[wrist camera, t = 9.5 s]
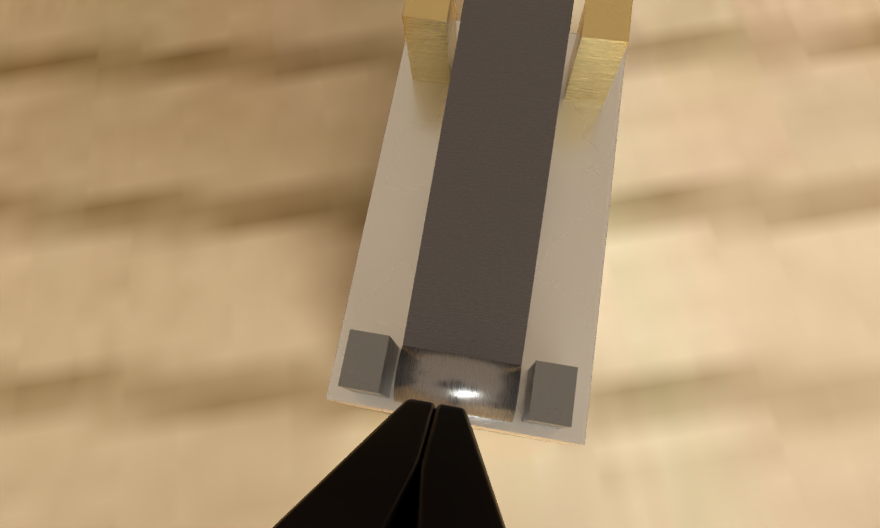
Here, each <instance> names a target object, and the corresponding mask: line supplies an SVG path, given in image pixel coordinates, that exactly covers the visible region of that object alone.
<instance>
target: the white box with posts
mask: <svg viewBox="0 0 880 528" xmlns="http://www.w3.org/2000/svg"><path fill="white" fill-rule="evenodd" d="M632 3H633V0H585V4H584V8H583V12H582V16H581V19H580V23H579V27H578V31H577V34H572V33H569V38H568V45H567V52H566V59H565V66H564V73H563V80H562V87H561V94H560V101H559V108H558V115H557V122H556V129H555V136H554V143H553V149H552V156H551V163H550V170H549V177H548V184H547V191H546V198H545V205H544V212H543V219H542V226H541V233H540V240H539V247H538V254H537V261H536V268H535V275H534V282H533V289H532V296H531V303H530V310H529V317H528V324H527V330H526V337H525V344H524V351H523V358H522V365H521V376H520V385H519V392H518V398H517V405H516V410H515V415H514V419H513V422H512V423H511V422H506V421H500V420H494V419H489V418H483V417H478V416H472V415H468V418H469V421H470V423H471V426H472V428H476V429H482V430H487V431H493V432H498V433H504V434H509V435H515V436H521V437H526V438H532V439H537V440H543V441H548V442H554V443H559V444H574V445H585V437H586V427H587V418H588V408H589V399H590V389H591V380H592V370H593V360H594V351H595V341H596V332H597V322H598V313H599V303H600V294H601V284H602V275H603V265H604V256H605V246H606V236H607V227H608V217H609V208H610V198H611V189H612V179H613V170H614V160H615V151H616V141H617V132H618V122H619V112H620V103H621V93H622V84H623V74H624V65H625V55H626V47H627V44H628V41H629V32H630V22H631V13H632ZM402 18H403V24H404V30H405V37H406V40H405V45H404V49H403V54H402V58H401V63H400V67H399V72H398V76H397V81H396V85H395V90H394V95H393V99H392V104H391V108H390V113H389V117H388V122H387V126H386V131H385V135H384V140H383V144H382V149H381V153H380V158H379V162H378V167H377V171H376V176H375V180H374V185H373V189H372V194H371V198H370V203H369V207H368V212H367V216H366V221H365V225H364V230H363V234H362V239H361V243H360V248H359V252H358V257H357V261H356V266H355V270H354V275H353V279H352V284H351V289H350V293H349V298H348V302H347V307H346V311H345V316H344V320H343V325H342V329H341V334H340V338H339V343H338V347H337V352H336V356H335V361H334V365H333V370H332V374H331V379H330V383H329V388H328V392H327V397H326V399H329V400H333V401H337V402H340V403H344V404H348V405H351V406H355V407H360V408H365V409H371V410H376V411H382V412H387V413H393V412H394V411H395V410H396V409H397V408H398V407H399V406H400V405H401V404H402V403H399V402H394V383H395V376H396V370H397V365H398V360H399V356H400V352H401V349H402V346H403V340H404V334H405V329H406V323H407V318H408V312H409V306H410V301H411V295H412V290H413V284H414V278H415V273H416V267H417V262H418V256H419V250H420V245H421V239H422V234H423V228H424V222H425V217H426V211H427V206H428V200H429V194H430V189H431V183H432V178H433V172H434V166H435V161H436V155H437V149H438V144H439V138H440V133H441V127H442V121H443V116H444V110H445V105H446V99H447V93H448V88H449V82H450V77H451V71H452V65H453V60H454V54H455V49H456V43H457V37H458V32H459V26H460V21H459V20H456V0H406V1H405V6H404V10H403V15H402Z"/></svg>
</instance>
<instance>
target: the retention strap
mask: <svg viewBox="0 0 880 528" xmlns="http://www.w3.org/2000/svg"><path fill="white" fill-rule="evenodd" d="M573 3H574V0H464V4H463V9H462V15H461V21H460V26H459V32H458V37H457V43H456V49H455V54H454V60H453V65H452V71H451V77H450V82H449V88H448V93H447V99H446V105H445V110H444V116H443V121H442V127H441V133H440V138H439V144H438V149H437V155H436V161H435V166H434V172H433V178H432V183H431V189H430V194H429V200H428V206H427V211H426V217H425V222H424V228H423V234H422V239H421V245H420V250H419V256H418V262H417V267H416V273H415V278H414V284H413V290H412V295H411V301H410V306H409V312H408V318H407V323H406V329H405V334H404V340H403V346H402V349H401V352H400V356H399V360H398V365H397V370H396V376H395V383H394V402H399V403H403V402H404V401H406V400H408V399H415V400H421V401H427V402H432V403H433V404H434V405H435V407H437V406H438V405H440V404H443V405H449V406H455V407H460V408H463V409H465V411H466V412H467V415H472V416H478V417H483V418H489V419H494V420H500V421H506V422H511V423H512V422H513V419H514V415H515V410H516V405H517V398H518V392H519V385H520V376H521V365H522V358H523V351H524V344H525V337H526V330H527V324H528V317H529V310H530V303H531V296H532V289H533V282H534V275H535V268H536V261H537V254H538V247H539V240H540V233H541V226H542V219H543V212H544V205H545V198H546V191H547V184H548V177H549V170H550V163H551V156H552V149H553V143H554V136H555V129H556V122H557V115H558V108H559V101H560V94H561V87H562V80H563V73H564V66H565V59H566V52H567V45H568V38H569V31H570V24H571V17H572V10H573Z"/></svg>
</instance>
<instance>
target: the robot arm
mask: <svg viewBox="0 0 880 528" xmlns="http://www.w3.org/2000/svg"><path fill="white" fill-rule="evenodd" d="M273 528H506V527H505V524H504V521H503V518H502V515H501V512H500V509H499V506H498V503H497V500H496V498H495V495H494V492H493V489H492V486H491V483H490V480H489V477H488V474H487V471H486V468H485V465H484V462H483V459H482V456H481V453H480V450H479V447H478V444H477V441H476V438H475V435H474V432H473V429H472V426H471V423H470V421H469V418H468V415H467V412H466V411H465V409H463V408H460V407H455V406H449V405H443V404H440V405H438V406H437V407H435V405H434V404H433V403H432V402H427V401H421V400H415V399H408V400H406V401H404V402H403V403H402V404H401V405H400V406H399V407H398V408H397V409H396V410H395V411H394V412H393V413H392V414H391V415H390V416H389V417H388V418H387V419H386V420H385V421H384V422H382V423H381V424H380V425H379V426H378V427H377V428H376V429H375V430H374V431H373V432H372V433H371V434H370V435H369V436H368V437H367V438H366V439H365V440H364V441H363V442H362V443H360V444H359V445H358V446H357V447H356V448H355V449H354V450H353V451H352V452H351V453H350V454H349V455H348V456H347V457H346V458H345V459H344V460H343V461H342V462H341V463H340V464H339V465H337V466H336V467H335V468H334V469H333V470H332V471H331V472H330V473H329V474H328V475H327V476H326V477H325V478H324V479H323V480H322V481H321V482H320V483H319V484H318V485H317V486H316V487H314V488H313V489H312V490H311V491H310V492H309V493H308V494H307V495H306V496H305V497H304V498H303V499H302V500H301V501H300V502H299V503H298V504H297V505H296V506H295V507H294V508H292V509H291V510H290V511H289V512H288V513H287V514H286V515H285V516H284V517H283V518H282V519H281V520H280V521H279V522H278V523H277V524H276V525H275V526H274V527H273Z"/></svg>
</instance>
